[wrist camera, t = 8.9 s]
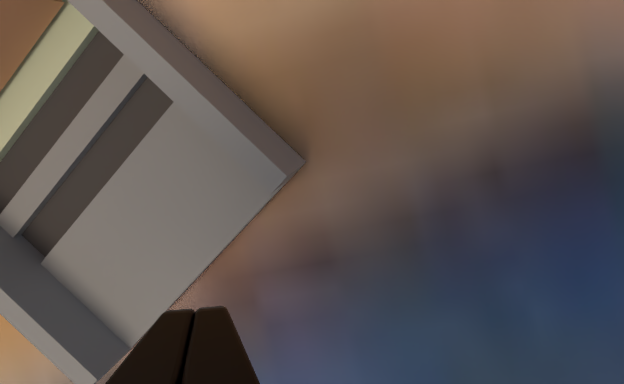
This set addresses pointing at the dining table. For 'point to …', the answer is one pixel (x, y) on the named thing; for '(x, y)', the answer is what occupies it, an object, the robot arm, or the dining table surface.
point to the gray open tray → (119, 181)
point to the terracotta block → (22, 30)
